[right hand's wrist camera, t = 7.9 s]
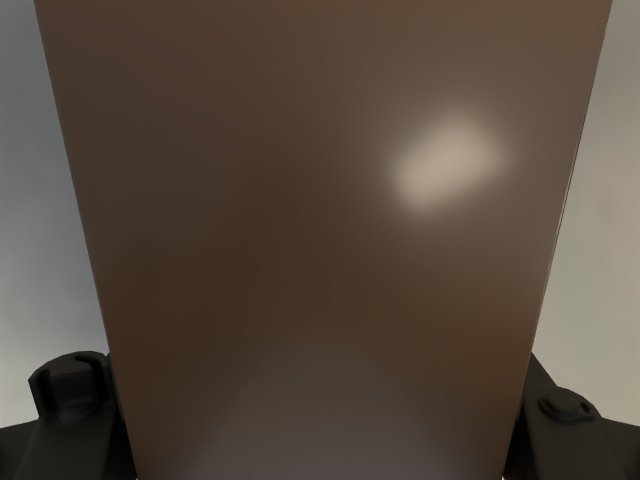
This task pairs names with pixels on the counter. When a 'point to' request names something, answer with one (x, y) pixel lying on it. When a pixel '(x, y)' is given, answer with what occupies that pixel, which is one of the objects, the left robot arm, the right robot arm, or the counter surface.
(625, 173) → the counter surface
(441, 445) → the beam
